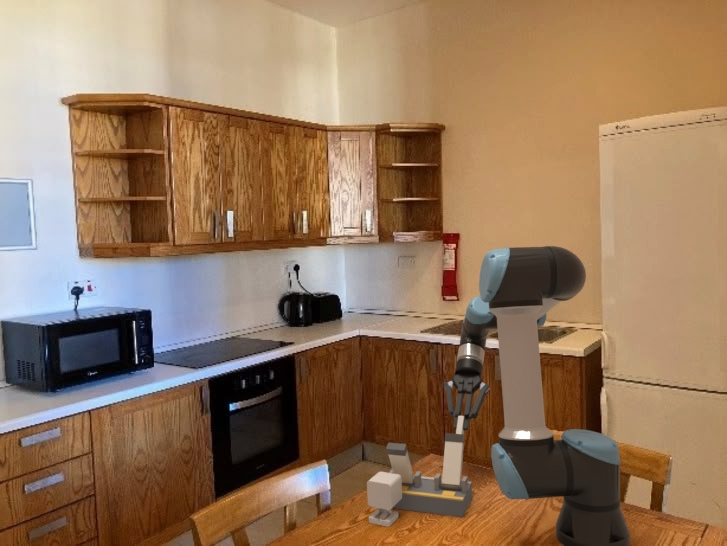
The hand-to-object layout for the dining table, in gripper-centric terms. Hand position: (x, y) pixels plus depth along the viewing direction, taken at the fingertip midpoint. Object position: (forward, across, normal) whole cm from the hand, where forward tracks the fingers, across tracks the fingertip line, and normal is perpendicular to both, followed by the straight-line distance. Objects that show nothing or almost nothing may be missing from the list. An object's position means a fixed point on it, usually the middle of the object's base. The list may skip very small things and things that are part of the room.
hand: (458, 440), depth 164 cm
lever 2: (+13, 0, +1) cm, 13 cm away
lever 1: (+13, +12, +1) cm, 18 cm away
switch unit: (+16, +6, -2) cm, 18 cm away
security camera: (+24, +14, +5) cm, 28 cm away
